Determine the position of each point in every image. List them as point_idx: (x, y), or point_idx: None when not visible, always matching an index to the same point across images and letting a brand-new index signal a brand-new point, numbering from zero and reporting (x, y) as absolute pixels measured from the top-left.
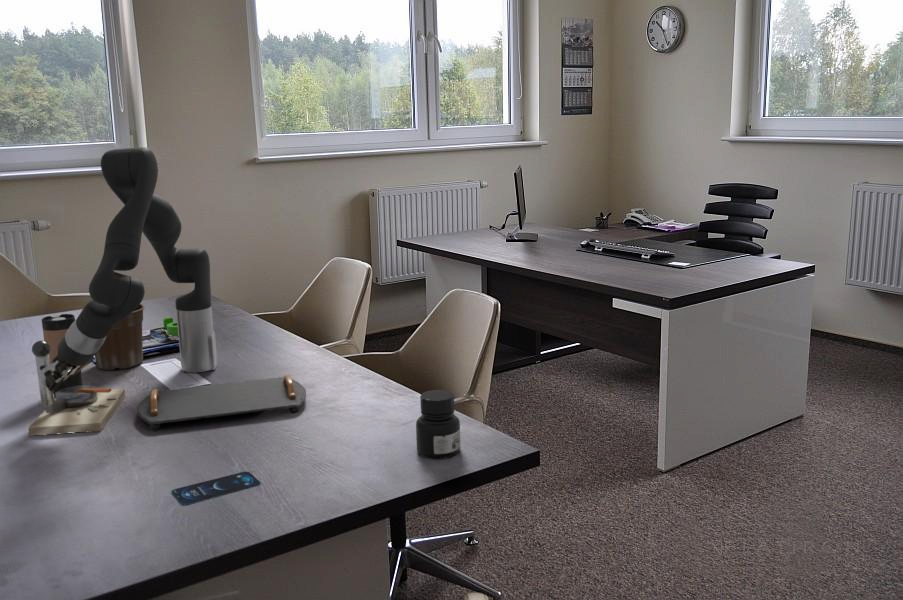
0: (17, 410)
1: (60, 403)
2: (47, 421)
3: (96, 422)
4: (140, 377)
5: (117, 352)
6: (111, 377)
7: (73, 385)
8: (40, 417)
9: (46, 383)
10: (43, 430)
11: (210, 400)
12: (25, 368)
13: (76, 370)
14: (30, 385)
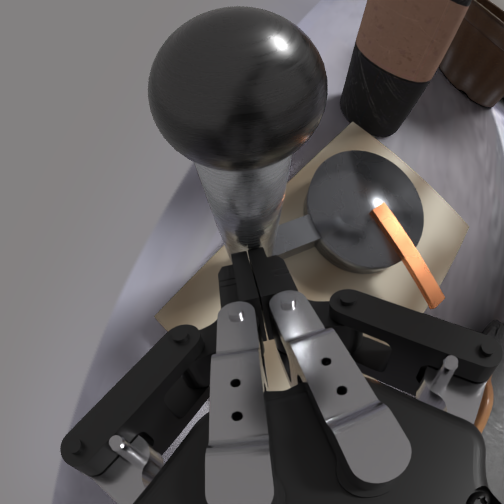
0: None
1: (293, 250)
2: (215, 312)
3: None
4: (491, 155)
5: (480, 77)
6: (453, 110)
7: (387, 119)
8: (221, 258)
9: (219, 278)
10: None
11: (499, 466)
12: (347, 2)
13: (368, 372)
14: (330, 38)
